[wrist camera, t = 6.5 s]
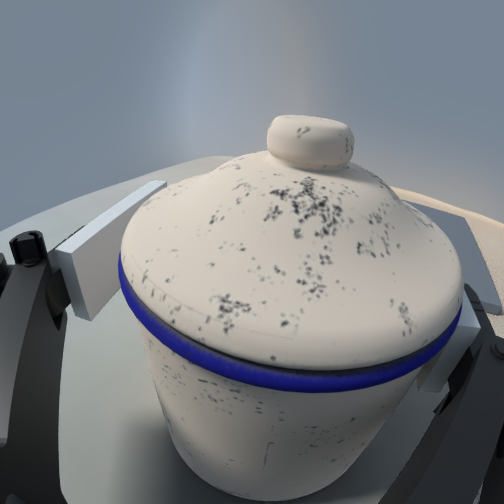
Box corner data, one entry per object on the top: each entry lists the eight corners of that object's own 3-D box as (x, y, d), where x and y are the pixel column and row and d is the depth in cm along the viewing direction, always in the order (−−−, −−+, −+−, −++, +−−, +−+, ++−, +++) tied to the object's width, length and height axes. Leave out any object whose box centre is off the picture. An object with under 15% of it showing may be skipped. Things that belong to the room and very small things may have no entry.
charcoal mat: (462, 223, 33) (464, 217, 32) (497, 315, 19) (502, 306, 18) (309, 184, 39) (310, 178, 39) (252, 249, 25) (253, 239, 24)
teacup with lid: (403, 411, 13) (518, 167, 7) (262, 552, 7) (461, 313, 1) (238, 292, 20) (248, 95, 14) (103, 355, 15) (50, 116, 9)
